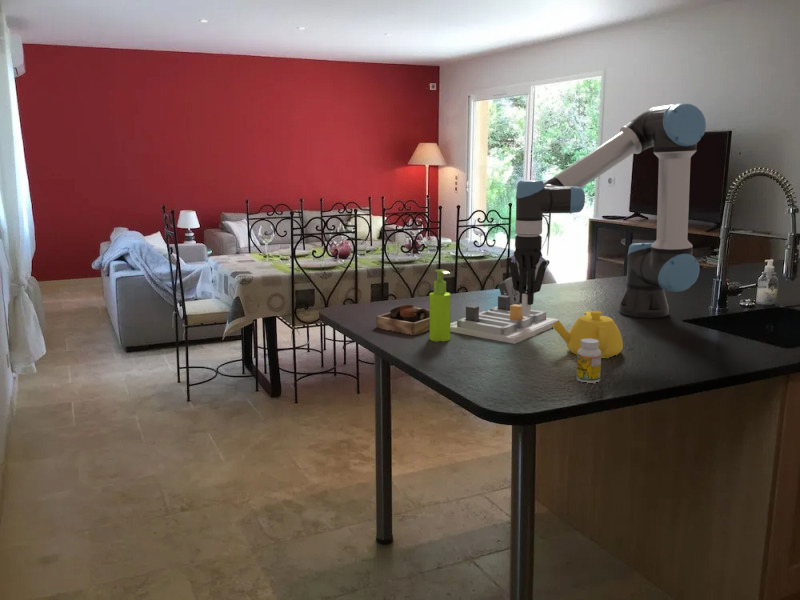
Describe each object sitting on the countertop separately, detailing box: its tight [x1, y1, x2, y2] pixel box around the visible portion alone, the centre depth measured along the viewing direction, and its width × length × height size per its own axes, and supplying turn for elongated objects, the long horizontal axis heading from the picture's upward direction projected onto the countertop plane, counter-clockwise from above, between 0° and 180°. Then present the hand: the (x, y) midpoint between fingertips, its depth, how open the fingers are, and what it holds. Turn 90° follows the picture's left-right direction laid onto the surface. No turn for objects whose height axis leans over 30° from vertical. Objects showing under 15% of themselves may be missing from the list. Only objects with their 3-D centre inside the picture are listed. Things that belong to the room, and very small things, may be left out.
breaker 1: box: [465, 304, 480, 322], centre depth 204 cm, size 3×3×6 cm
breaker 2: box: [497, 294, 510, 311], centre depth 218 cm, size 3×3×6 cm
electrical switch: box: [497, 276, 520, 305], centre depth 240 cm, size 9×5×9 cm, turn 152°
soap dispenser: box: [429, 268, 451, 342], centre depth 194 cm, size 6×7×20 cm
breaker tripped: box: [510, 303, 523, 321], centre depth 205 cm, size 3×3×6 cm
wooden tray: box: [375, 306, 430, 336], centre depth 211 cm, size 15×17×4 cm
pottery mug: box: [389, 304, 429, 323], centre depth 209 cm, size 12×9×8 cm
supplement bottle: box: [576, 338, 602, 384], centre depth 160 cm, size 5×5×10 cm
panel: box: [450, 305, 561, 345], centre depth 208 cm, size 24×27×4 cm
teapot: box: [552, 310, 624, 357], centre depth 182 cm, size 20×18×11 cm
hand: (526, 314), depth 203 cm, fingers closed
